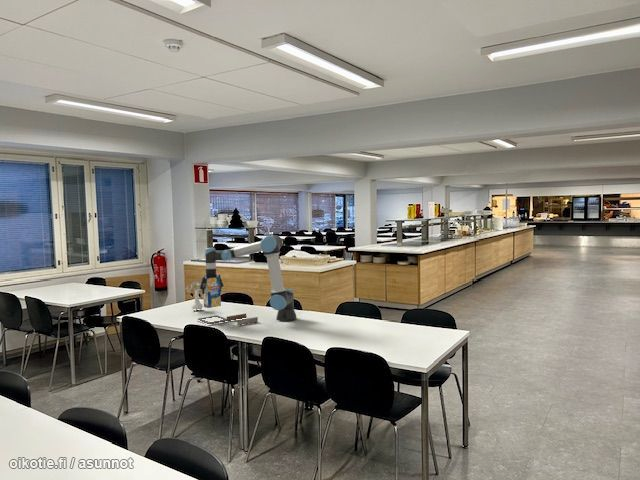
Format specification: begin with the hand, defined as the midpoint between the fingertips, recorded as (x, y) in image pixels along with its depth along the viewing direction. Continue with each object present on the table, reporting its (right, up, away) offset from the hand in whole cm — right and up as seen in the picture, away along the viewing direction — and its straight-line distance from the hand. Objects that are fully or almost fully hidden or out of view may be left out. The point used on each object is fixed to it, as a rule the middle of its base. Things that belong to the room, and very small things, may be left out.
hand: (212, 297), depth 350 cm
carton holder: (+23, -18, -4) cm, 30 cm away
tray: (+1, -19, +1) cm, 19 cm away
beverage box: (0, -7, 0) cm, 7 cm away
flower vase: (-23, -17, +45) cm, 53 cm away
